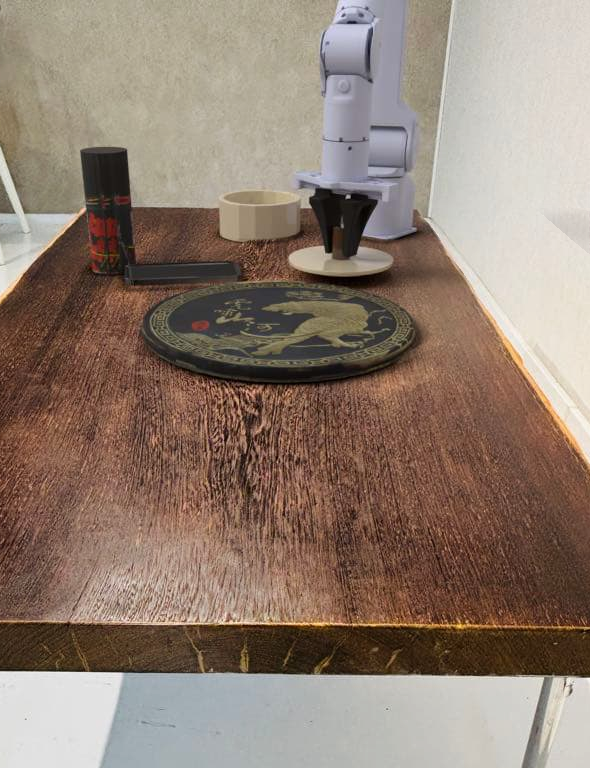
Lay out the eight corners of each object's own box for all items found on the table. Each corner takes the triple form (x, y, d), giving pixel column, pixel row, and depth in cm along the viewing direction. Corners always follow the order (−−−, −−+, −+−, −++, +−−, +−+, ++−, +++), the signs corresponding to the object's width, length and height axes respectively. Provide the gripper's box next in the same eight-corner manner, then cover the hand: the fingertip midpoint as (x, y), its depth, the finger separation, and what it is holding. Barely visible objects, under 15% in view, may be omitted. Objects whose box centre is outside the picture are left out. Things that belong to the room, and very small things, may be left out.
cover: (327, 248, 120) (329, 210, 117) (412, 264, 113) (415, 224, 110) (267, 268, 111) (267, 227, 108) (354, 287, 104) (357, 244, 101)
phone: (124, 264, 115) (236, 260, 116) (125, 273, 115) (236, 268, 117) (124, 280, 108) (242, 275, 110) (125, 289, 109) (242, 284, 110)
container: (254, 221, 143) (253, 186, 140) (315, 232, 136) (316, 196, 133) (203, 234, 135) (201, 198, 132) (265, 247, 128) (265, 209, 125)
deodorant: (87, 266, 119) (74, 148, 111) (128, 261, 121) (119, 145, 113) (99, 276, 114) (87, 154, 106) (142, 271, 116) (133, 151, 108)
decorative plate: (100, 354, 84) (183, 272, 109) (101, 372, 85) (183, 287, 110) (409, 379, 79) (422, 287, 104) (407, 398, 80) (420, 302, 105)
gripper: (278, 137, 105) (277, 251, 112) (379, 148, 97) (371, 269, 105) (312, 131, 110) (309, 240, 117) (411, 141, 102) (401, 257, 109)
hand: (340, 253), depth 111 cm, fingers closed on cover, 2 cm apart
